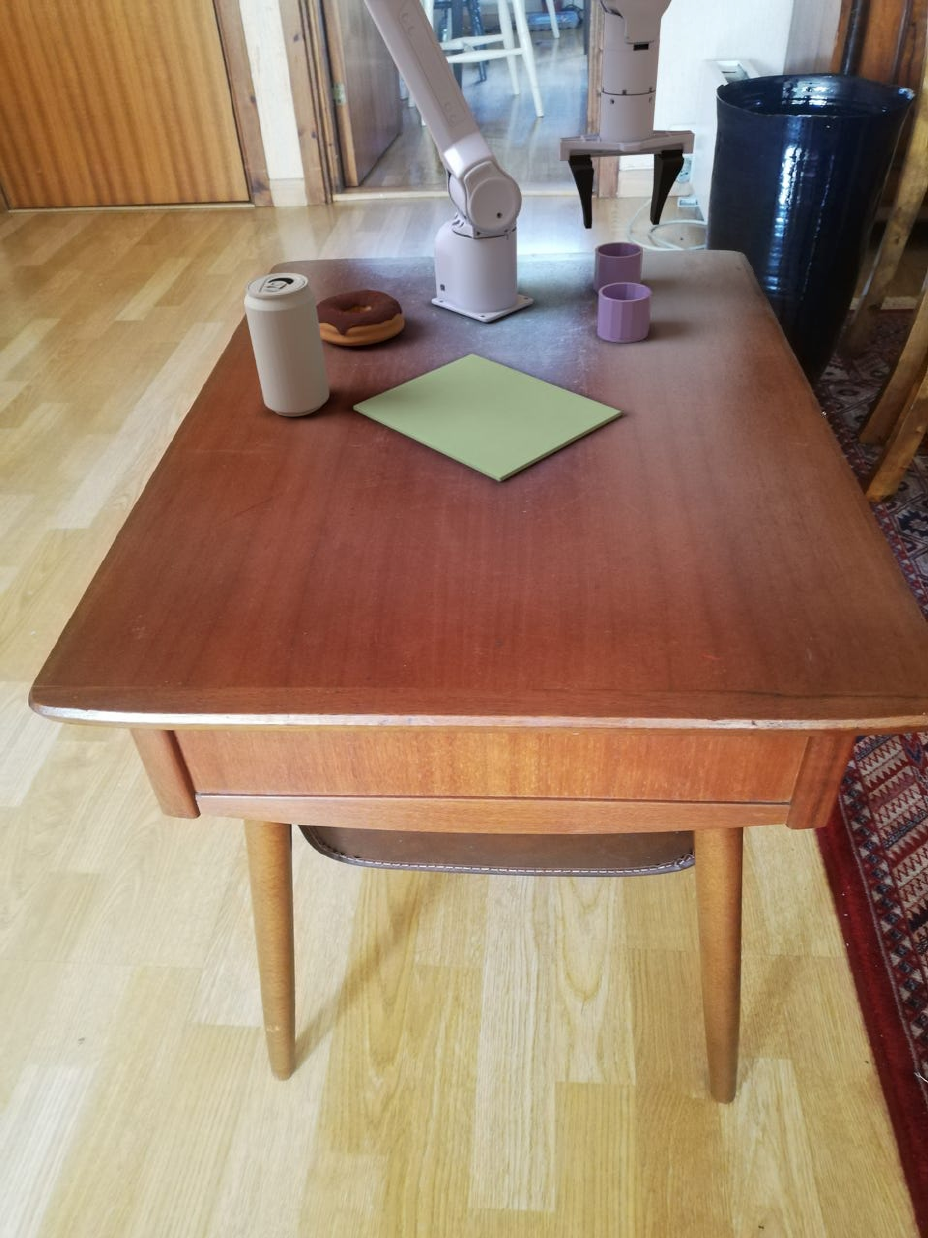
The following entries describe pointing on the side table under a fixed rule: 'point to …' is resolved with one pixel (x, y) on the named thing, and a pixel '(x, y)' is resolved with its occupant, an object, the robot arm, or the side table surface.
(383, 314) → the donut
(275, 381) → the beverage can
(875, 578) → the side table surface
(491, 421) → the placemat
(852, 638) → the side table surface
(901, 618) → the side table surface
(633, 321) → the faceted lilac cup
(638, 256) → the purple plastic cup
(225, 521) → the side table surface
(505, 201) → the robot arm
